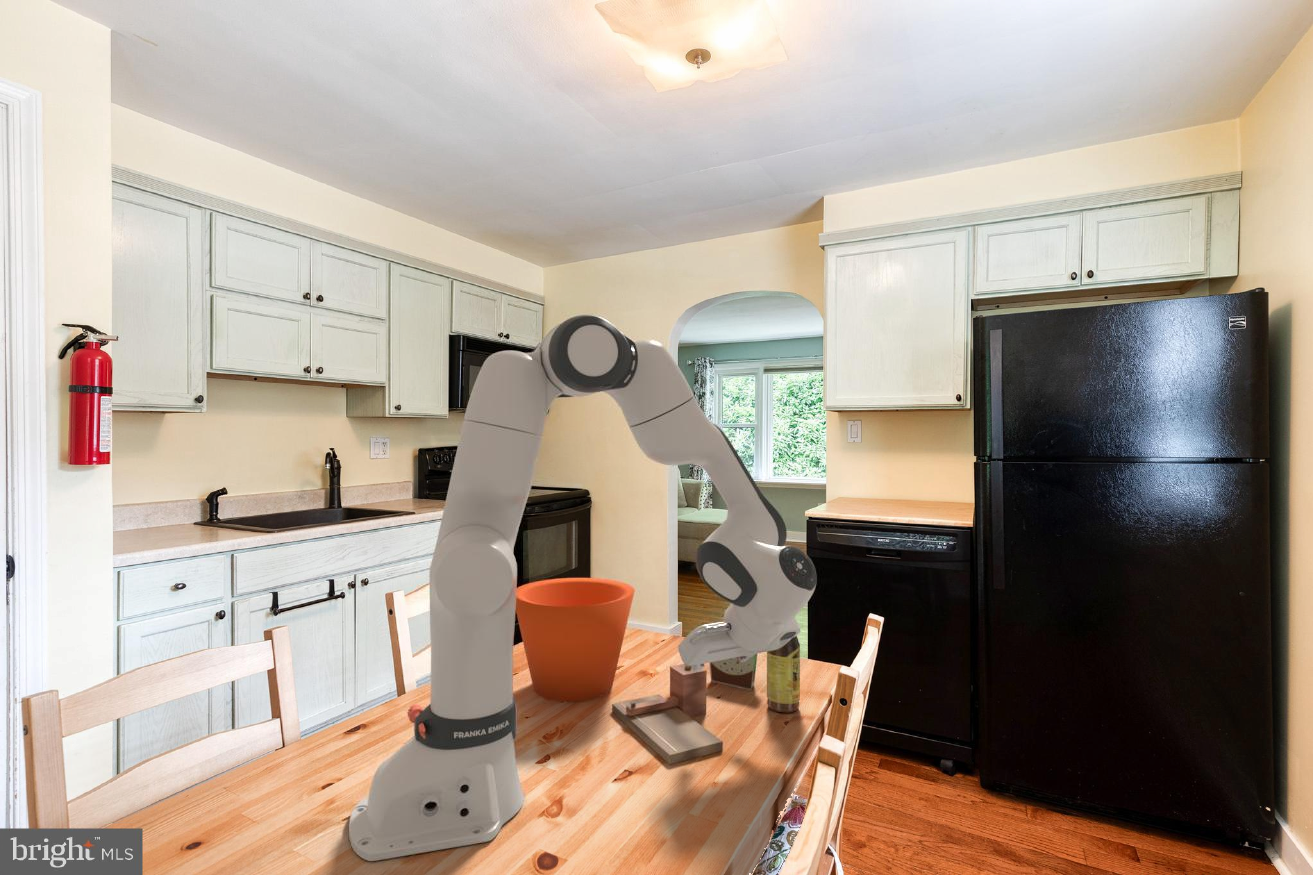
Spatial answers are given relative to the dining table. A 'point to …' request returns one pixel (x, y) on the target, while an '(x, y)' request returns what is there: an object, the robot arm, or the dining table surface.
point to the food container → (734, 672)
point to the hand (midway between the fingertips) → (717, 662)
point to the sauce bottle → (784, 677)
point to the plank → (669, 732)
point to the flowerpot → (573, 635)
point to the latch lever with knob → (678, 693)
